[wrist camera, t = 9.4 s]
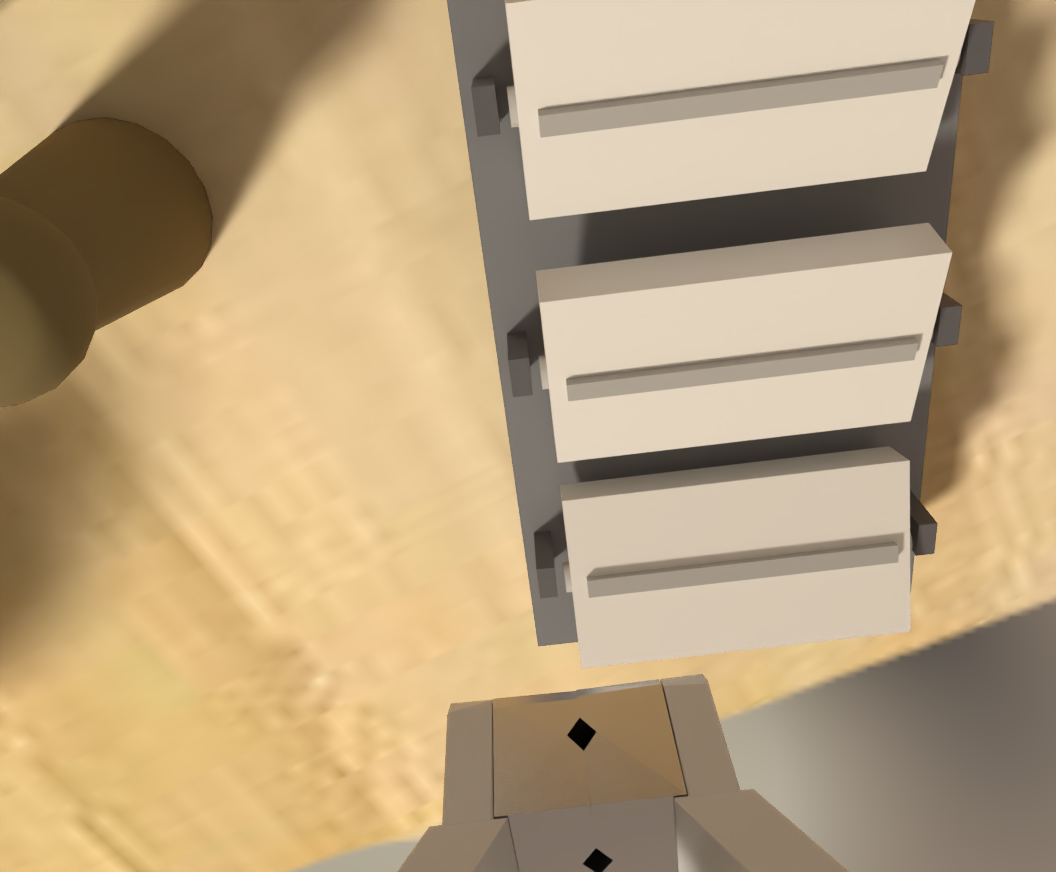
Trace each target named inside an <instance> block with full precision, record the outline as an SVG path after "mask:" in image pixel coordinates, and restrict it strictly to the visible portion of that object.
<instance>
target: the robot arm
mask: <svg viewBox="0 0 1056 872" xmlns="http://www.w3.org/2000/svg"><path fill="white" fill-rule="evenodd" d="M397 872H849V871H848V870H847V869H846V868H845V867H844V866H842V865H841V864H840V863H839V862H838V861H837V860H835V859H834V858H833V857H832V856H831V855H830V854H828V853H827V852H826V851H825V850H824V849H822V848H821V847H820V846H819V845H818V844H817V843H816V842H814V841H813V840H812V839H811V838H810V837H809V836H807V835H806V834H805V833H804V832H803V831H802V830H801V829H799V828H798V827H797V826H796V825H795V824H793V823H792V822H791V821H790V820H789V819H788V818H787V817H785V816H784V815H783V814H782V813H781V812H780V811H778V810H777V809H776V808H775V807H774V806H773V805H771V804H770V803H769V802H768V801H767V800H766V799H764V798H763V797H762V796H761V795H760V794H759V793H757V792H756V791H755V790H754V789H750V790H740V788H739V784H738V781H737V778H736V774H735V771H734V768H733V764H732V761H731V758H730V754H729V751H728V748H727V744H726V741H725V738H724V734H723V731H722V727H721V724H720V721H719V717H718V714H717V711H716V707H715V704H714V701H713V697H712V694H711V691H710V687H709V684H708V680H707V679H706V678H705V677H704V676H703V674H698V675H690V676H683V677H675V678H667V679H661V680H660V681H659V680H650V681H642V682H635V683H627V684H619V685H612V686H604V687H596V688H589V689H581V690H576V691H571V692H561V693H550V694H539V695H529V696H518V697H508V698H497V699H494V700H484V701H473V702H463V703H452V704H451V705H450V708H449V712H448V715H447V734H446V756H445V778H444V799H443V821H442V825H438V826H431V827H429V828H428V830H427V831H426V832H425V834H424V835H423V836H422V838H421V839H420V841H419V842H418V843H417V845H416V846H415V848H414V849H413V850H412V852H411V853H410V855H409V856H408V857H407V859H406V860H405V862H404V863H403V864H402V866H401V867H400V869H399V870H398V871H397Z"/></svg>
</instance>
